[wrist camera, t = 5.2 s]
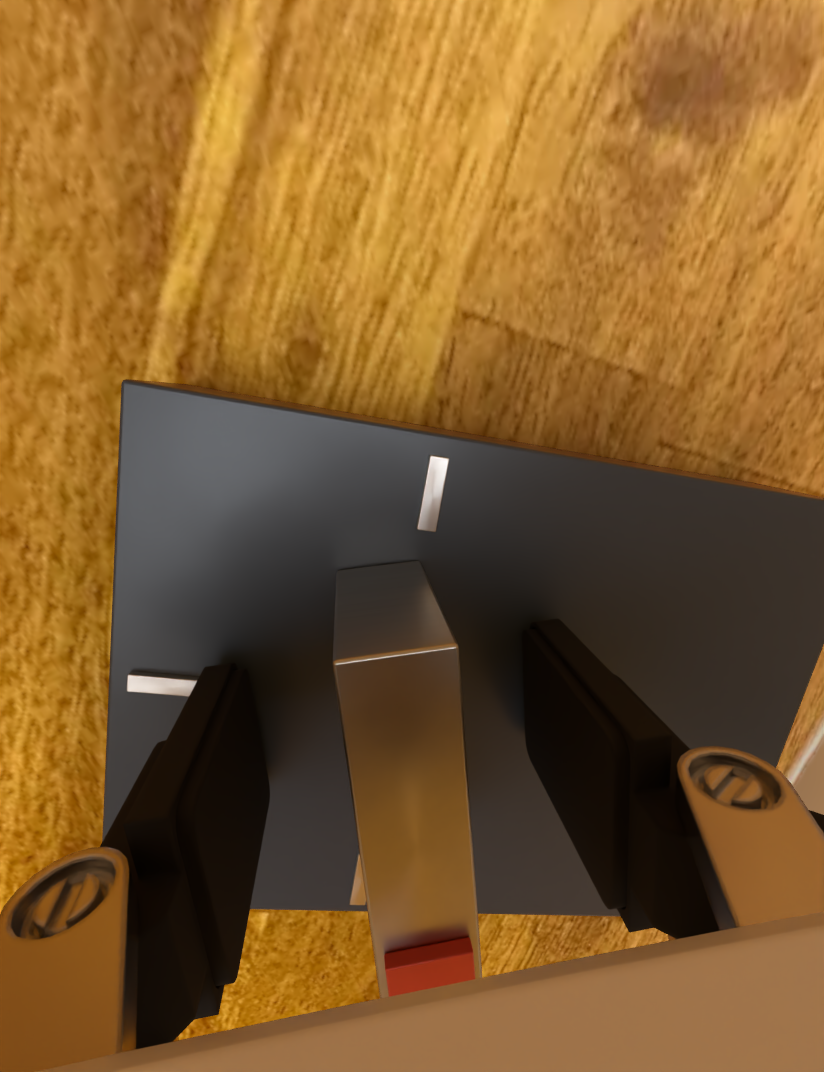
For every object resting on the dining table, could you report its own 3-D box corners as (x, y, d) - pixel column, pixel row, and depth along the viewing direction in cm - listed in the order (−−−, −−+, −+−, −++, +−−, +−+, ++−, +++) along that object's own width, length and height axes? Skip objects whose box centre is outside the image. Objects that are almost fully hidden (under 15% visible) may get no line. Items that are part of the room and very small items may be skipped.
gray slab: (336, 569, 10) (331, 671, 6) (419, 559, 10) (463, 652, 6) (370, 828, 11) (383, 1031, 8) (442, 815, 12) (487, 1009, 8)
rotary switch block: (753, 482, 14) (885, 510, 11) (644, 816, 17) (722, 925, 13) (182, 383, 12) (116, 378, 9) (155, 790, 15) (94, 914, 11)
